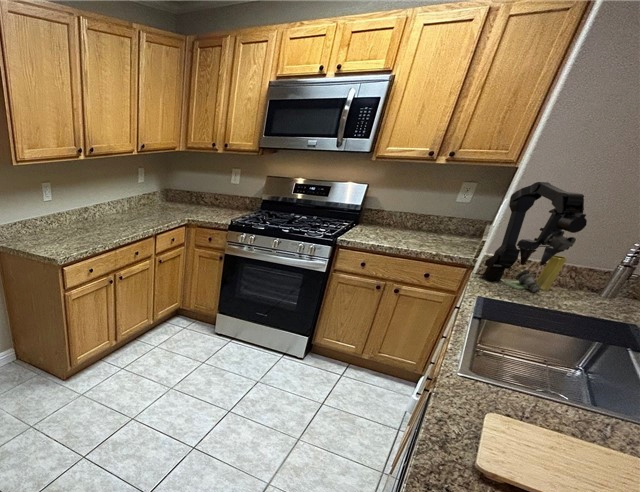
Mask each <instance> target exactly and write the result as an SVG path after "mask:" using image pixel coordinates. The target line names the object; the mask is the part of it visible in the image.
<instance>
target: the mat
mask: <svg viewBox="0 0 640 492" xmlns="http://www.w3.org/2000/svg"><path fill="white" fill-rule="evenodd" d="M501 283H502V284H503V285H506V286H508V287H512V288H514V289H517V290H529V289H528V287H527V286H526V285H520V284H519V280H509V281H508V280H507V281H506V280H505V281H501Z"/></svg>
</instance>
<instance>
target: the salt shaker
mask: <svg viewBox="0 0 640 492" xmlns="http://www.w3.org/2000/svg"><path fill="white" fill-rule="evenodd" d="M515 281H519V284H520V285H526V286H527V287H528V289H527V290H531V292H532V293H540V292H541V290H542V289H541V288H540V286H539V285H538V283H537V282H536V275H535V274H532V273H530V271H529V270H523V271H520V272H519V273H518V274H517V275H516V276H515Z"/></svg>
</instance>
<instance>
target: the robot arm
mask: <svg viewBox="0 0 640 492" xmlns="http://www.w3.org/2000/svg"><path fill="white" fill-rule="evenodd" d="M542 197H544V198H545V199H547V200H549V201H551V205H552V206H553V207H554V208H552V209H550V210H549V211H548V213H550V216H549V217H548V219H547V221H546V223H545V225H544V227H540V228H539V231H541V232H540V234H539V235H538V237H534V239H529V238H524V239H523V238H521V239H520V240H519V237H520V232H521V230H522V227H523V223H524V221H525V218H526V215H527V212H528V211H529V210H530V209H531V208H532V207H533V206H534V205H535V202H536V201H537V200H539V199H541V198H542ZM508 207H509V209H510V211H511V213H510V216H509V220H508V223H507V226H506V229H505V233H504V236H503V239H502V242H501V245H500V246H499V247H498V248H497V249H496V250H495V251H494V254H493V255H492V256H491V257H488V258H487V259H485V262H484V265H485V266H486V268H485V270H484V272H483V274H482V275H480V276H479V278H480V279H482V280H485V281H487V282H491V283H492V282H493V283H494V282H495V283H497V282H503V281H502V278H503V276H504V274H505V271H506V269H507V270H510V269H511V267H512V266H514V265H515V264H516V262H517V260H518V259H519V255H520V265H521V266H525V264H527V262H528V260H529V259H530V257H531V255H532V254H534V253H535V252H537V249H539V248H542V247H543V248H544V250H543V253H542V257H541V259H540V262H539V263H540V264H539V265H540V266H544V265H545V264H547V263H548V261H549V260H550V259H551V258H552V257H553V256H554V255H558V254H560V253H562V252H563V253H564V252H565V251H568V250H569V249H570V248H572V247H573V246H574V244H575V243H576V241H577V238H576V237H575V236H569V237H566V236H564V235H565V232H569V233H571V234H576V233H579V232H581V231H583V230H584V229H585V227H586V226H587V223H588V220H587V219H586V216H587V214H586V213H584V211H585V195H584V194H583V193H579V192H571V191H570V192H569V191H566V190H563V189H561V188H559V187H557V186H555V185H553V184H551V183H550V182H548V181H536V182H534V183H532V184H531V185H528V186H527V185H526V186H525V187H521V188H520V189H518V190H516V191H515V192H513V193H512V194H511V195H510V198H509V203H508ZM517 247H518V248H517Z"/></svg>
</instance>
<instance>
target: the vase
mask: <svg viewBox="0 0 640 492" xmlns="http://www.w3.org/2000/svg"><path fill="white" fill-rule="evenodd" d="M567 260H568V258H567V257H565V256H563V255H558V254H555V255H554V256H553V257H552V258H551V259H549V260H548V261H547V262H546V265H545V266H544V268H543V270H542V271H541V272H540V274H539V276H538V277H537V278H536V279H535V282H537V283H538V285H539V286H540V288H541V290H543V291H549V290H550V289H551V287H552V285H553V283H554V282H555V280H556V279H557V277H558V276H559V274H560V272H561V270H562V268H563V267H564V265H565V264H566V262H567Z"/></svg>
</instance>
